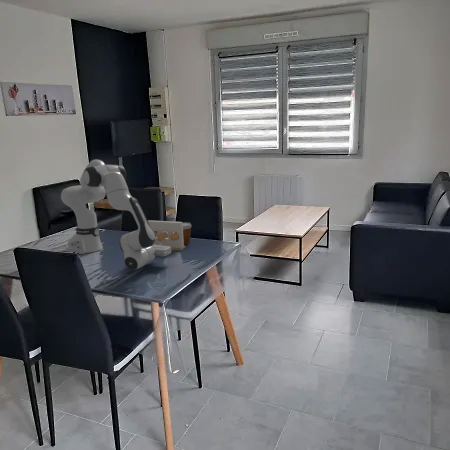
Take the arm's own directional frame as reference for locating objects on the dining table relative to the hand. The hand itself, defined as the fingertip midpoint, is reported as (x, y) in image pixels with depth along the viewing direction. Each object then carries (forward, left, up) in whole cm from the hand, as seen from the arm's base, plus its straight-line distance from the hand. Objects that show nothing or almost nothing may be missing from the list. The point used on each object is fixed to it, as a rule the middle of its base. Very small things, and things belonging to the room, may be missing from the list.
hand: (158, 245), depth 230 cm
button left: (-12, +15, -1) cm, 20 cm away
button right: (+2, +18, -1) cm, 18 cm away
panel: (-5, +19, -8) cm, 21 cm away
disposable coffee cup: (+2, +30, -8) cm, 31 cm away
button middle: (-5, +15, -1) cm, 16 cm away
